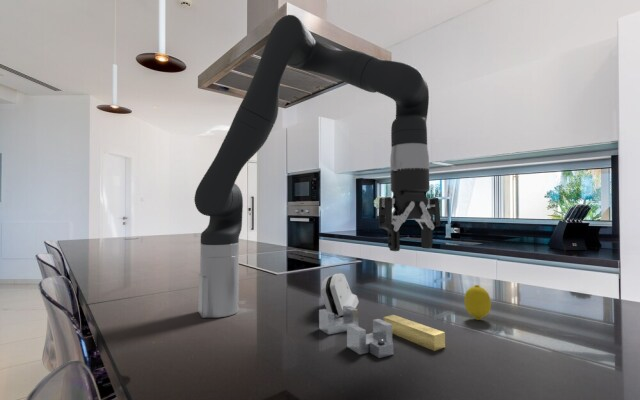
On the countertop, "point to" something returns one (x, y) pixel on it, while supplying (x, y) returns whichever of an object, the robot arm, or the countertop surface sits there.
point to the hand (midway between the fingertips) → (411, 249)
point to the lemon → (477, 302)
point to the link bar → (416, 332)
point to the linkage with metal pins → (359, 332)
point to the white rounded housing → (337, 294)
